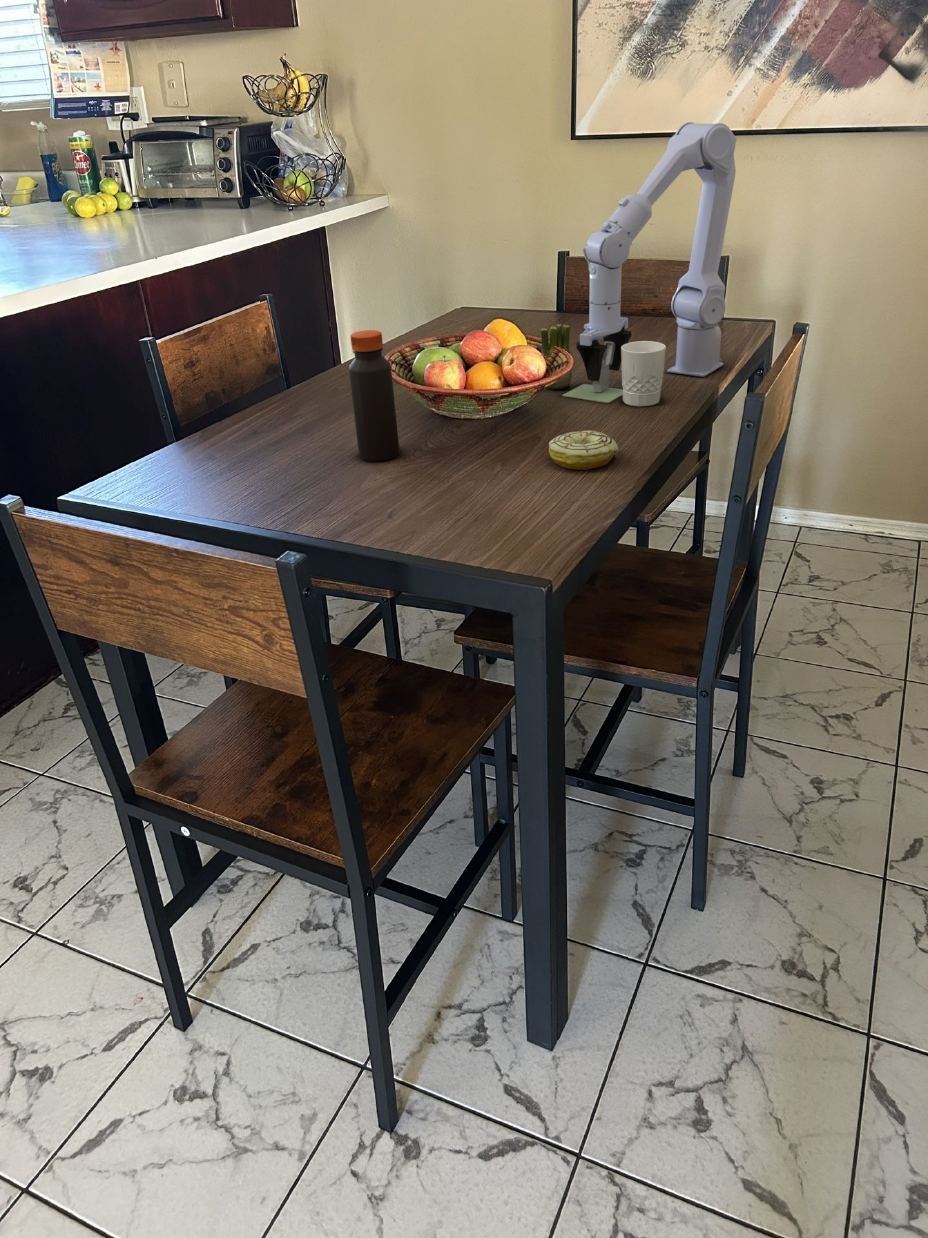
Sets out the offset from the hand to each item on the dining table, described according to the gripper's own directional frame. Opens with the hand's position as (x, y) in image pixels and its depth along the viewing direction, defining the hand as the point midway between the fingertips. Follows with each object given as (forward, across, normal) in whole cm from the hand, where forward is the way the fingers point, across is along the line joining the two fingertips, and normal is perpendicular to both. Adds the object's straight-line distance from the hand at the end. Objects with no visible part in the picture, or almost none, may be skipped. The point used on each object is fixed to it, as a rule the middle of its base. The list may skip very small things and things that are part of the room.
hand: (603, 374), depth 178 cm
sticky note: (+3, +3, 0) cm, 4 cm away
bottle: (+3, +48, -15) cm, 51 cm away
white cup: (+3, +3, +10) cm, 11 cm away
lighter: (+2, 0, 0) cm, 2 cm away
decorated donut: (+3, +34, +16) cm, 38 cm away
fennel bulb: (+3, +3, -9) cm, 10 cm away
